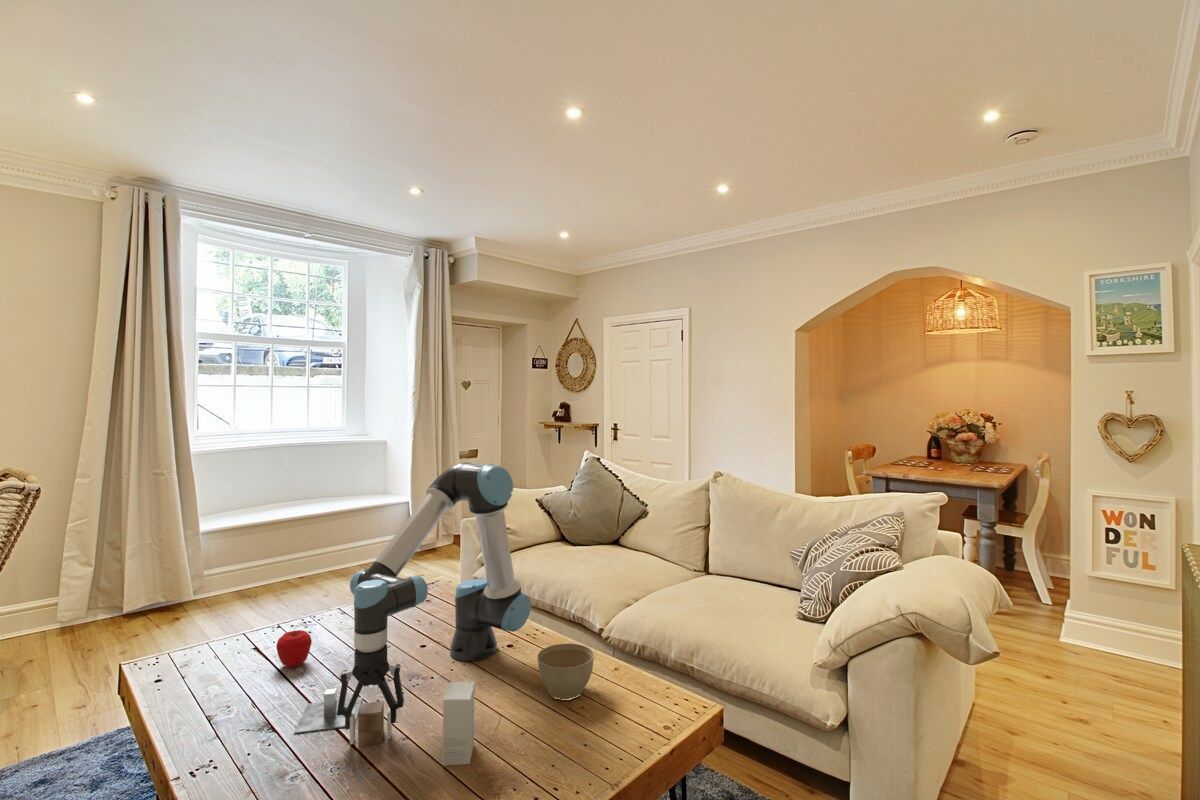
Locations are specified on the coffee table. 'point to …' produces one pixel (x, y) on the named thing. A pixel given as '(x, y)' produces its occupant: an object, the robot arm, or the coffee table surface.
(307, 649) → the apple
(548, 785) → the coffee table surface
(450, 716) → the skincare box
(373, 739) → the tan wooden block
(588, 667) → the planter bowl
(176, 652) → the coffee table surface
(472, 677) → the coffee table surface
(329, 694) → the grey square base plate
